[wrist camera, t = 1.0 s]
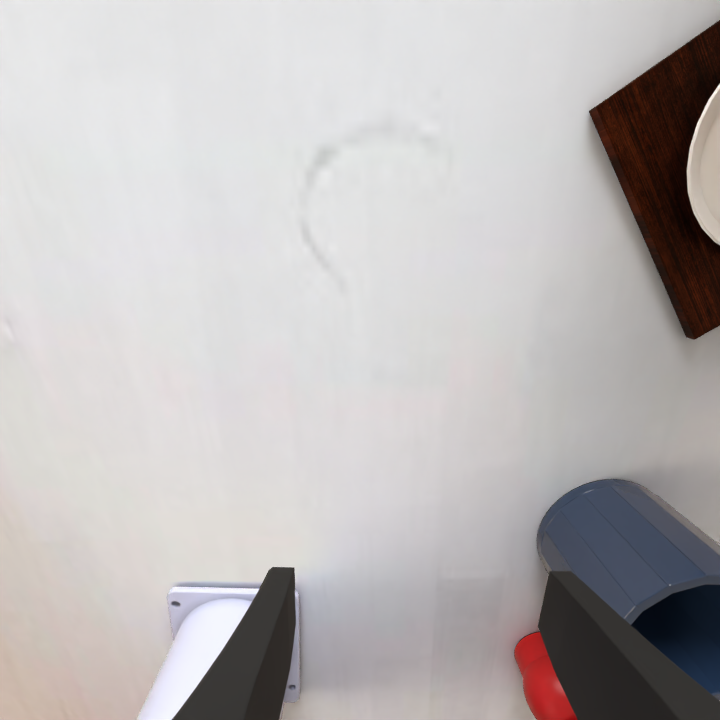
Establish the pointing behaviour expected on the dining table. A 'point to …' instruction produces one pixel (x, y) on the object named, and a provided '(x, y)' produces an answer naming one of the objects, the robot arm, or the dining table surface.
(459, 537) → the dining table surface
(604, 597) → the tumbler
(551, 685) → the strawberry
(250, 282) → the dining table surface
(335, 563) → the dining table surface
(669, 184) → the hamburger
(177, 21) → the dining table surface
